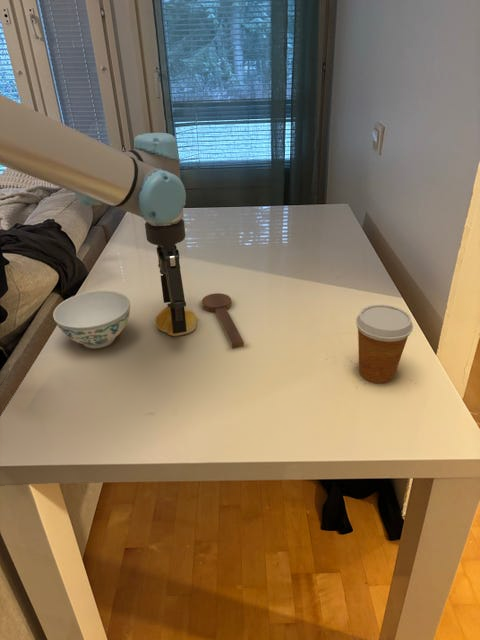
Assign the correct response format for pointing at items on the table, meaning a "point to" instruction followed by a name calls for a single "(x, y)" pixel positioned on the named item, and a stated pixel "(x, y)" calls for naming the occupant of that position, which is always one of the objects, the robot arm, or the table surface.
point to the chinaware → (93, 317)
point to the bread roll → (165, 322)
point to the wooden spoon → (223, 316)
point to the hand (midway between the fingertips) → (174, 316)
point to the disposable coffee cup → (381, 341)
